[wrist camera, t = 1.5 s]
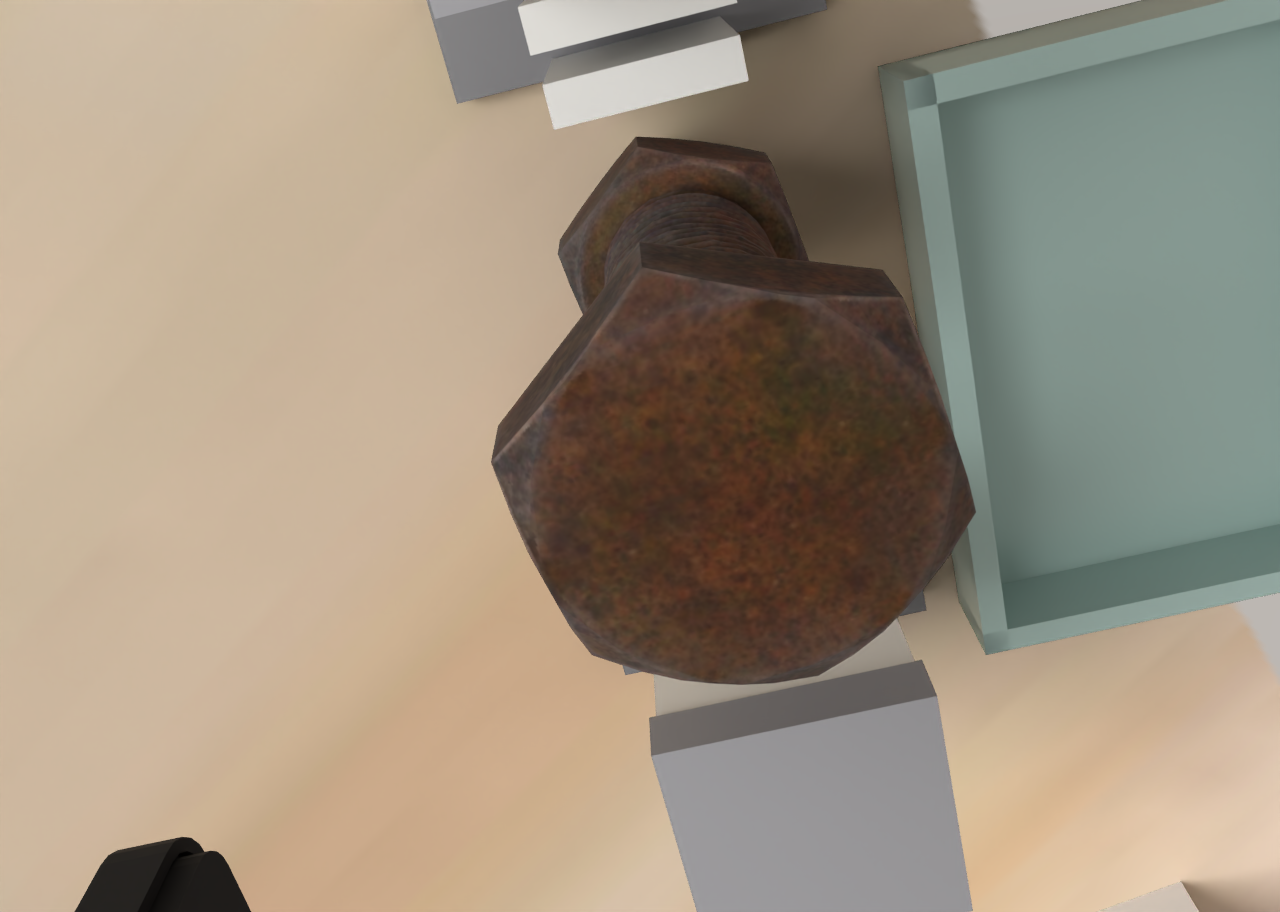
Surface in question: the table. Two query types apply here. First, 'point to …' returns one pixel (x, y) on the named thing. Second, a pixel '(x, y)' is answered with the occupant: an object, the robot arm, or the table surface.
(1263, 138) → the tray
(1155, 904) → the light grey cube
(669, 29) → the block
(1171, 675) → the table surface
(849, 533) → the bolt
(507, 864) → the table surface
